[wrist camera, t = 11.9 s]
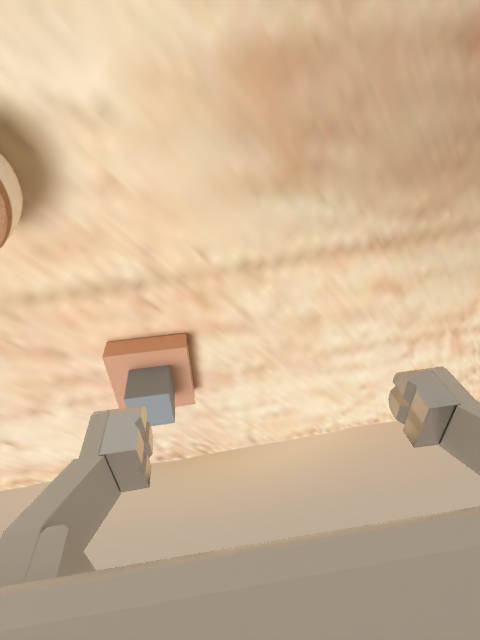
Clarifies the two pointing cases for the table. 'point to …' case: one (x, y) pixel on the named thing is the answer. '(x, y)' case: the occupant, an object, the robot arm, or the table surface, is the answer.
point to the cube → (152, 393)
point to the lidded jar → (9, 200)
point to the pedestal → (151, 363)
